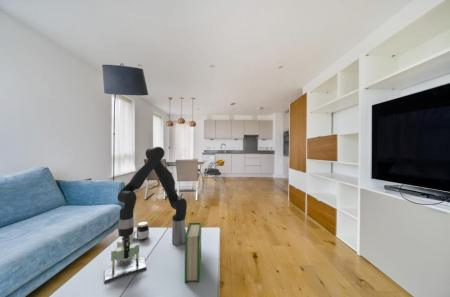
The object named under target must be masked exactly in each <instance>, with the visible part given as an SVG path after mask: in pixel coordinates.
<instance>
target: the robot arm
mask: <svg viewBox="0 0 450 297" xmlns="http://www.w3.org/2000/svg"><path fill="white" fill-rule="evenodd" d="M145 157H146V159H147V162H146V163H145V164H143V166H142V167H140V168H139V169H138V170H137V171H136V172H135V174H133V176H132V178H131V179H130V181H129V182H128V183H127V184H125V186H124V187H123V188H121V190H120V191H119V192H118V194H117V201H119V202H120V203H122V204H123V207H121V208H120V210H119V221H118V236H119V237H121V239H122V245H123V248H124V259H126V258H127V259H129V258H130V257H129V251H130V235H132V234H133V233H134V231H135V229H134V228H135V225H134V224H135V222H134V221H135V218H134V210H135V206H136V202H137V194H136V193H135V191H136V190H137V191H138V190H140V188H141V187H142V186H143V184H144V183H145V181H146V180H147V178H148V177H149V176H150V174H151V172H152V171H153V170H154V173H155V174H156V176H157V178H158V180H159V182H160V185H161V187H162V188H163V190H164V192H165V194H166V197H167V200H168V203H169V204H170V207H171V208H172V209H173V210H175V214H173V215H172V222H171V224H172V225H171V226H172V230H171V244H172V245H173V246H182V245H183V244H184V245H185V235H186V232H187V229H186V216H187V208H188V206H187V204H188V203H187V200H186V199H185V198H184V197H180V196H179V195H178V193H177V192H176V181H175V178H174V176H173V174H172V172H171V171H170V170H169V169H168V168H167V167H166V166H165V165H164V164H163V162H162V160H163V158H164V157H165V150H164V149H163V147H161V146H151V147H148V148H147V149H146V150H145ZM128 257H129V258H128ZM127 259H126V260H127Z"/></svg>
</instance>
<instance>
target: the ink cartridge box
mask: <svg viewBox="0 0 450 297" xmlns="http://www.w3.org/2000/svg"><path fill="white" fill-rule="evenodd" d="M131 244H134V239H133V234H132V235H130V245H131ZM119 247H123V245H122V238H121V239H119V240H118V241H117V242H116V248H119ZM126 260H128V258H126V259H122V260H119V261H118V262H126Z"/></svg>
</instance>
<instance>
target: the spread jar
mask: <svg viewBox="0 0 450 297" xmlns="http://www.w3.org/2000/svg"><path fill="white" fill-rule="evenodd" d="M148 223H149V222H147V221H142V222H141V221H140V222H139V223H138V224H137V226H136V229H134V232H133V240H134V238H135V236H136V239H137V241H145V240H147V239H148V238H149V237H150V228H149V225H148Z"/></svg>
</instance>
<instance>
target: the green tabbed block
mask: <svg viewBox="0 0 450 297" xmlns="http://www.w3.org/2000/svg"><path fill="white" fill-rule="evenodd" d="M136 254H140V244H139V243H137V244H135V243H133V244H131V245H130V251H129V257H128V258H127V259H129V258H134V257H136ZM122 259H124V248H123V247H119V248H117V247H116V249H113V250H111V252H110V261H111V262H112V261H113V260H114V261H116V262H120V261H119V260H122Z"/></svg>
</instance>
